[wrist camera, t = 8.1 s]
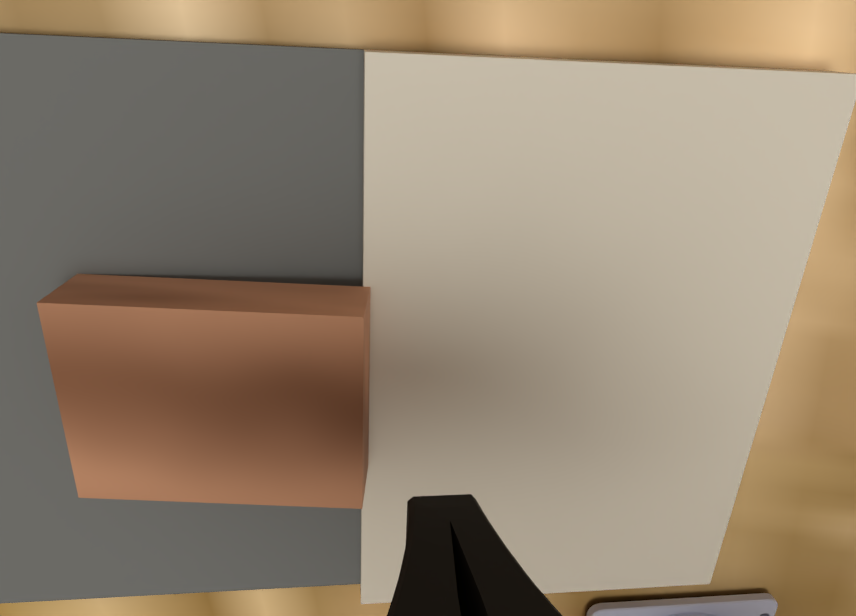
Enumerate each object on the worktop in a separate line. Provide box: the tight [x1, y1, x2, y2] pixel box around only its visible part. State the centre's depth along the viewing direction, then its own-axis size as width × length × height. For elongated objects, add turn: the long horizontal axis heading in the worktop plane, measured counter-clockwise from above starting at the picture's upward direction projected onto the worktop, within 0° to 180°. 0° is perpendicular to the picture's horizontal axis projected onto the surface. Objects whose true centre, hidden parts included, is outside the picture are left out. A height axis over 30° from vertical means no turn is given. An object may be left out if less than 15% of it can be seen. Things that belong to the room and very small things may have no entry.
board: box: [361, 50, 856, 604], centre depth 20 cm, size 18×13×1 cm
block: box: [37, 274, 371, 509], centre depth 18 cm, size 6×8×2 cm
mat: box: [0, 33, 364, 603], centre depth 19 cm, size 18×14×1 cm
